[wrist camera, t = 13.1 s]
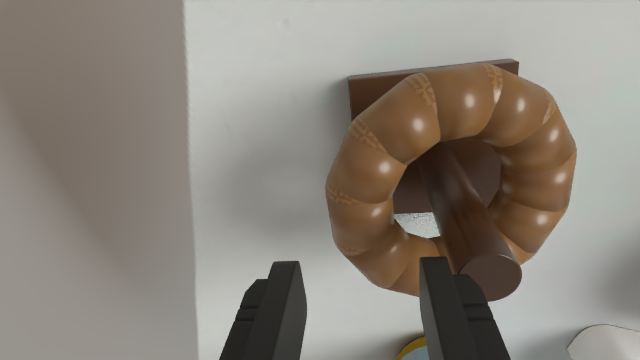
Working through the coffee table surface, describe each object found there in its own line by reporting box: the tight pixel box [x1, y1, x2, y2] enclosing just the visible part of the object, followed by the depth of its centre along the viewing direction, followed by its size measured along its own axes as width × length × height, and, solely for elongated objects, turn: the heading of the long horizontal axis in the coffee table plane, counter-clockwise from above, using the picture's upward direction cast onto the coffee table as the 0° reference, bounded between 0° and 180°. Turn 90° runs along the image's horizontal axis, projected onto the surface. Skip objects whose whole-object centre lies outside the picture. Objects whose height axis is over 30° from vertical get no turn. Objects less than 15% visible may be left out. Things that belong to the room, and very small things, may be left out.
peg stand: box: [348, 59, 522, 302], centre depth 15 cm, size 8×8×11 cm
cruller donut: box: [325, 63, 577, 297], centre depth 15 cm, size 10×10×3 cm
